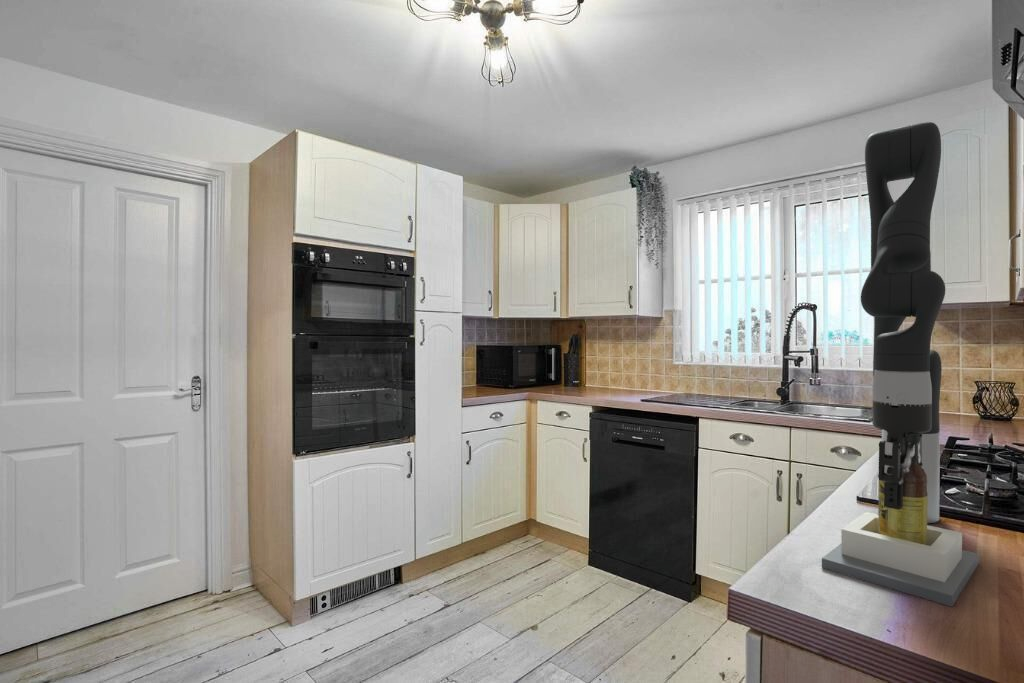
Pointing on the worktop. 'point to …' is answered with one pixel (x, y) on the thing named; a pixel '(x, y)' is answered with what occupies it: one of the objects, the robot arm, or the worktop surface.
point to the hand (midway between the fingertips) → (901, 501)
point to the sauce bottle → (907, 503)
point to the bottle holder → (904, 560)
